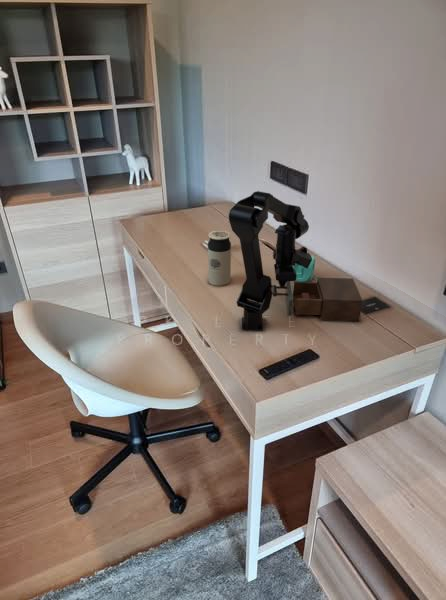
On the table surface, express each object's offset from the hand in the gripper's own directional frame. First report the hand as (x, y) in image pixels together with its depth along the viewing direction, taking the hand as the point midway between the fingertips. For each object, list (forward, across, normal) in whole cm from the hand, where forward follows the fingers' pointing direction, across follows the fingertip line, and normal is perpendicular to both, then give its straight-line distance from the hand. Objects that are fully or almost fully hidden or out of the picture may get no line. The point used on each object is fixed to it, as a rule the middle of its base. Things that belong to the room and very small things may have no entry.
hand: (282, 287), depth 142 cm
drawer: (+4, -5, -4) cm, 7 cm away
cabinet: (+5, -5, -17) cm, 19 cm away
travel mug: (+5, +12, +22) cm, 25 cm away
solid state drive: (+5, -2, -29) cm, 30 cm away
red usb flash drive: (+2, -5, -7) cm, 9 cm away
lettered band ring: (+5, +41, +22) cm, 47 cm away
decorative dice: (+5, +17, -8) cm, 19 cm away
